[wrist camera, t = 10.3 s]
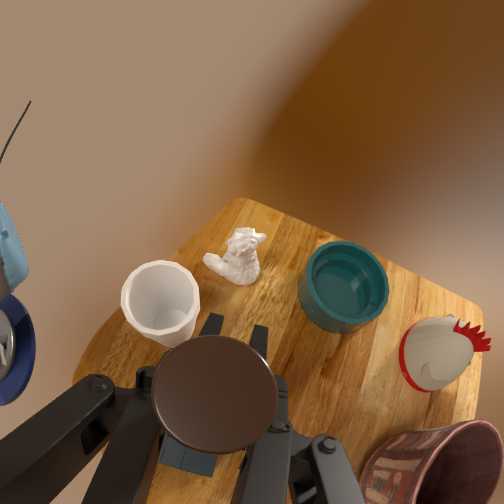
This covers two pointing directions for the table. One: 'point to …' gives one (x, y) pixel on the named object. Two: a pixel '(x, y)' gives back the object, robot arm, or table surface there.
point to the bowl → (343, 287)
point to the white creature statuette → (238, 257)
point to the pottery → (436, 466)
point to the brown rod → (214, 394)
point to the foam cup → (161, 302)
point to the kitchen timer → (439, 351)
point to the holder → (186, 458)
